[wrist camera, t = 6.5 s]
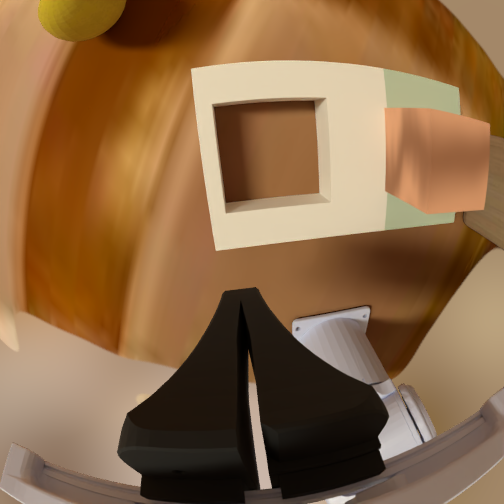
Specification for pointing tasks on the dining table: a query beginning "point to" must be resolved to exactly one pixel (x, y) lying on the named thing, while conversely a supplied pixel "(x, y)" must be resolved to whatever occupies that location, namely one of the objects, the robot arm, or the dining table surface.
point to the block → (436, 159)
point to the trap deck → (329, 148)
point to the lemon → (79, 17)
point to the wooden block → (491, 198)
